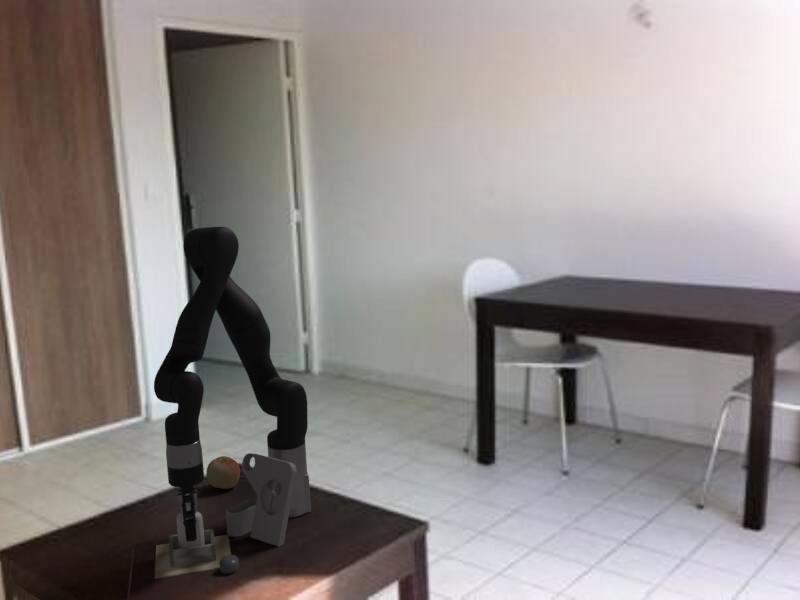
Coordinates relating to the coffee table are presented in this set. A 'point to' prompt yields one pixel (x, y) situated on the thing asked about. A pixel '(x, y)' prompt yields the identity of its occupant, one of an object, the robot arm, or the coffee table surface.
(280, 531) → the phone holder
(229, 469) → the apple
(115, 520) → the coffee table surface
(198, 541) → the eye dropper bottle
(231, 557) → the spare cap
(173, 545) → the glass box on tray
